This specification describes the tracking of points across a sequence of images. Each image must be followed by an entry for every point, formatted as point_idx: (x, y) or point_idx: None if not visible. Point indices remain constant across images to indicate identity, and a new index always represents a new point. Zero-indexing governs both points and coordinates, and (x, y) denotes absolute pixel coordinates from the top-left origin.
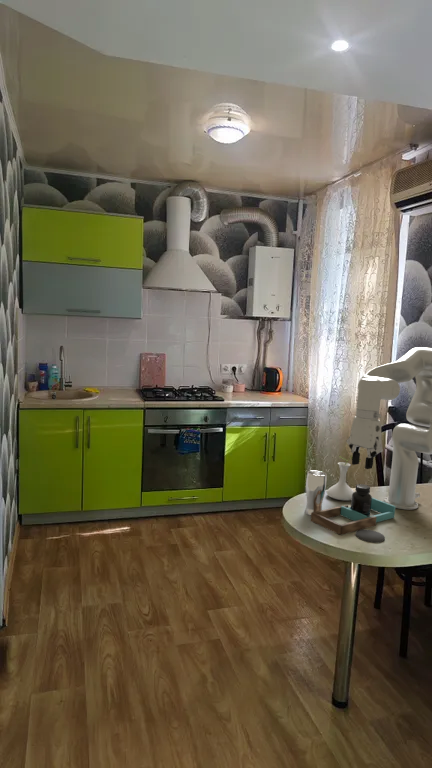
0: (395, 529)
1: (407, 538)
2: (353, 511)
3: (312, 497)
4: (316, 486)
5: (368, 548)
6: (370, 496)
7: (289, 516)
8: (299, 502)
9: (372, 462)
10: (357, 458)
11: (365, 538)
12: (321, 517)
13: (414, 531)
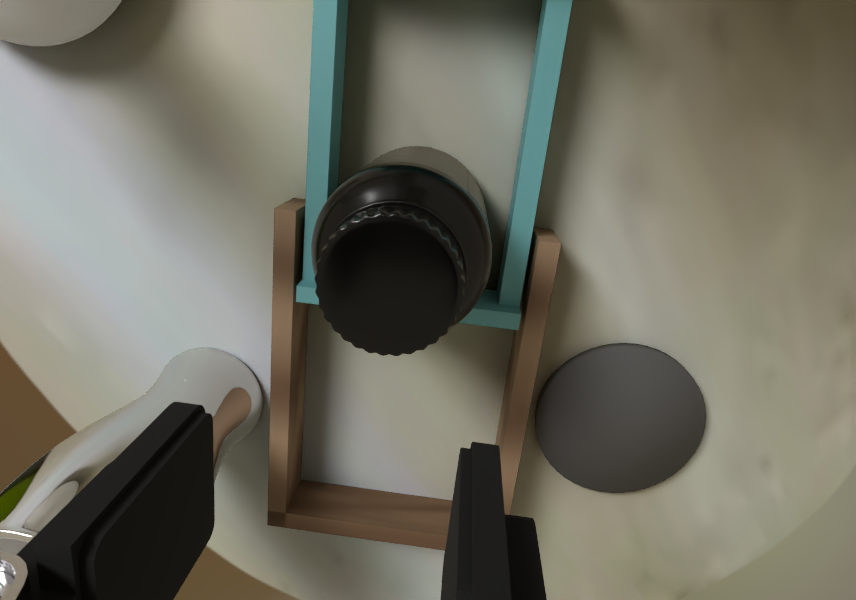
0: (678, 171)
1: (799, 249)
2: None
3: None
4: None
5: (682, 545)
6: (480, 246)
7: None
8: (17, 302)
9: (538, 586)
10: (160, 527)
11: (625, 485)
12: (350, 535)
13: (797, 78)
